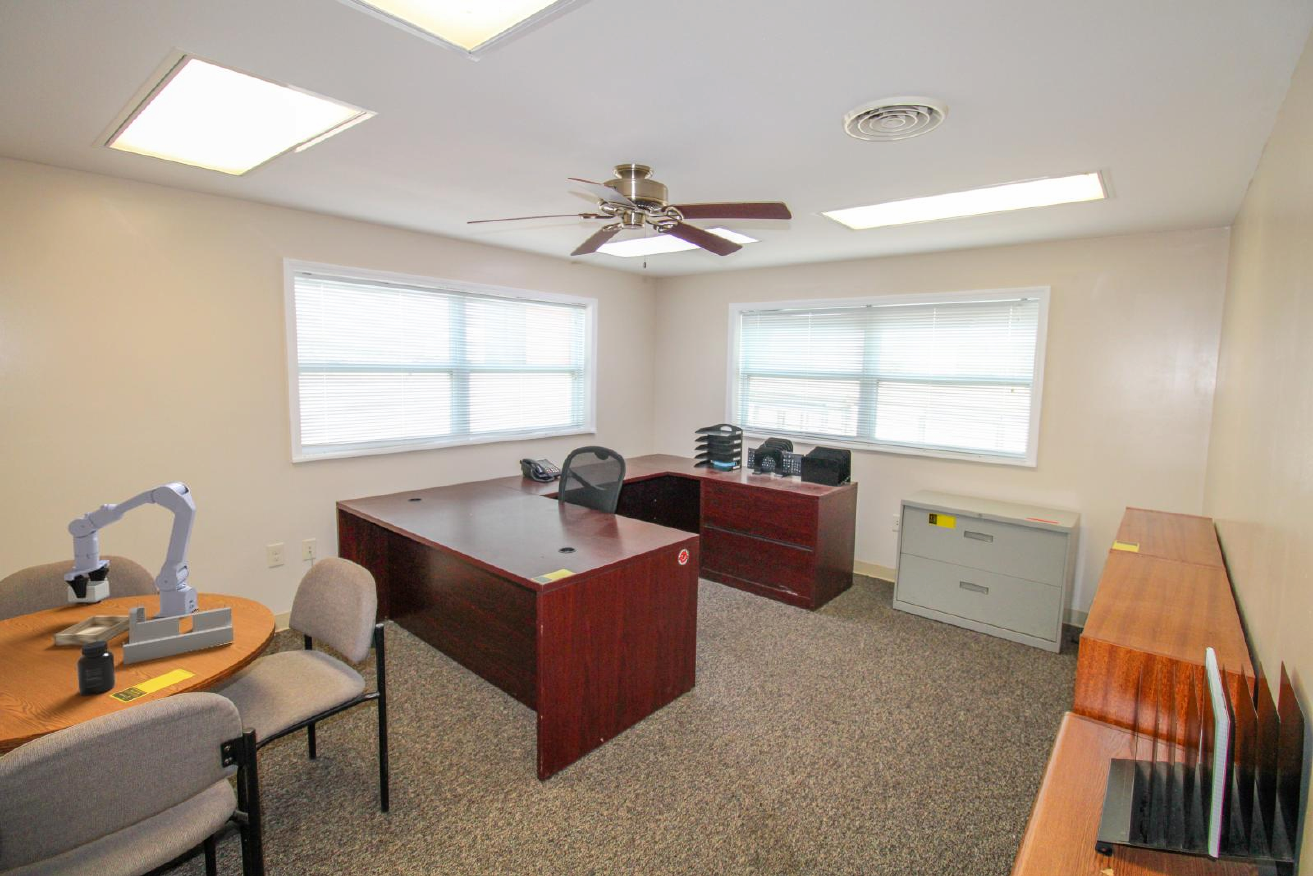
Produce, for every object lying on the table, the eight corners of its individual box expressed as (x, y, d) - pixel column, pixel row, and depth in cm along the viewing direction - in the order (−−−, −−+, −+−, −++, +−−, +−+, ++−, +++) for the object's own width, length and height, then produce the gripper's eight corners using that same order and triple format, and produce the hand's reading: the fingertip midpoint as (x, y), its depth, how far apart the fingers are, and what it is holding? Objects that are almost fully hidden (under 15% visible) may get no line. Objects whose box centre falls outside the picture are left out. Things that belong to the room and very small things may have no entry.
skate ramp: (123, 666, 166) (121, 631, 165) (131, 635, 184) (130, 604, 183) (233, 644, 181) (232, 612, 180) (231, 618, 199) (230, 589, 198)
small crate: (109, 596, 196) (108, 581, 195) (95, 602, 190) (94, 587, 190) (83, 595, 195) (82, 581, 194) (68, 602, 189) (67, 587, 189)
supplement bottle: (122, 682, 157) (120, 639, 155) (99, 696, 150) (96, 651, 149) (95, 682, 156) (93, 638, 155) (71, 696, 150) (68, 650, 148)
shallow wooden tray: (135, 625, 190) (134, 615, 190) (98, 645, 176) (97, 635, 176) (94, 625, 189) (93, 615, 188) (54, 645, 175) (53, 635, 174)
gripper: (92, 546, 198) (94, 586, 199) (52, 560, 183) (55, 603, 185) (115, 547, 198) (117, 586, 200) (77, 560, 184) (80, 603, 185)
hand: (89, 594), depth 192 cm, fingers closed on small crate, 5 cm apart
